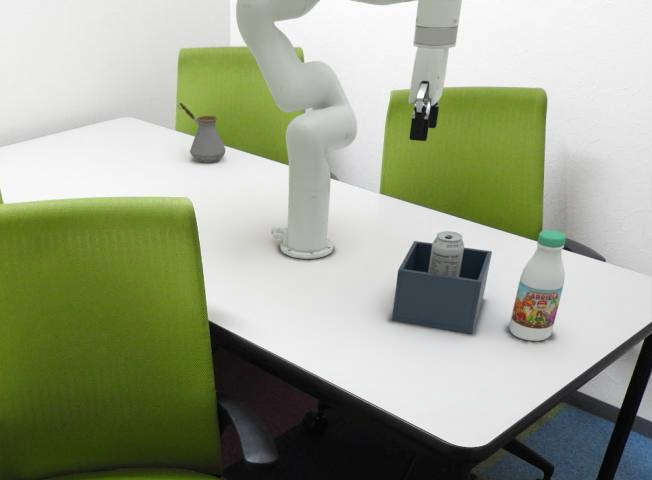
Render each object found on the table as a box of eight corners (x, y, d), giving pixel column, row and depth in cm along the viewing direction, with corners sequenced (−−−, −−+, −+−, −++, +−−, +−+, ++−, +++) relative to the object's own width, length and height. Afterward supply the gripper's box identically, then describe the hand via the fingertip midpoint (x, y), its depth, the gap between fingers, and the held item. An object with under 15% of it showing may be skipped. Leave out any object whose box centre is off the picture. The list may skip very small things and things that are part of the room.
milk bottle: (502, 324, 150) (523, 227, 138) (540, 321, 150) (563, 225, 139) (518, 343, 143) (541, 243, 132) (557, 340, 144) (584, 241, 132)
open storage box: (391, 320, 152) (397, 269, 146) (407, 288, 164) (414, 240, 157) (471, 334, 146) (481, 282, 140) (482, 300, 158) (492, 251, 152)
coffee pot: (232, 160, 244) (232, 111, 235) (203, 167, 238) (201, 117, 230) (195, 146, 258) (194, 99, 250) (167, 152, 253) (164, 105, 244)
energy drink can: (457, 303, 155) (469, 233, 147) (448, 315, 151) (460, 244, 143) (429, 296, 158) (439, 228, 150) (419, 308, 154) (429, 238, 145)
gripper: (423, 28, 145) (412, 121, 154) (404, 43, 132) (393, 143, 141) (463, 30, 142) (450, 124, 152) (448, 45, 129) (434, 147, 139)
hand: (422, 133), depth 147 cm, fingers open, 9 cm apart
